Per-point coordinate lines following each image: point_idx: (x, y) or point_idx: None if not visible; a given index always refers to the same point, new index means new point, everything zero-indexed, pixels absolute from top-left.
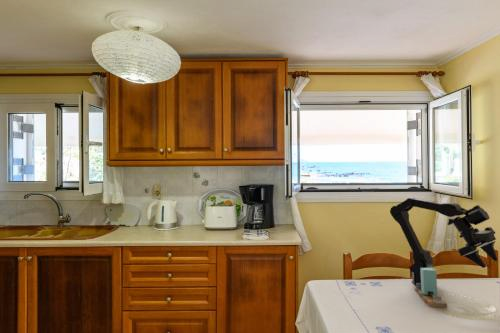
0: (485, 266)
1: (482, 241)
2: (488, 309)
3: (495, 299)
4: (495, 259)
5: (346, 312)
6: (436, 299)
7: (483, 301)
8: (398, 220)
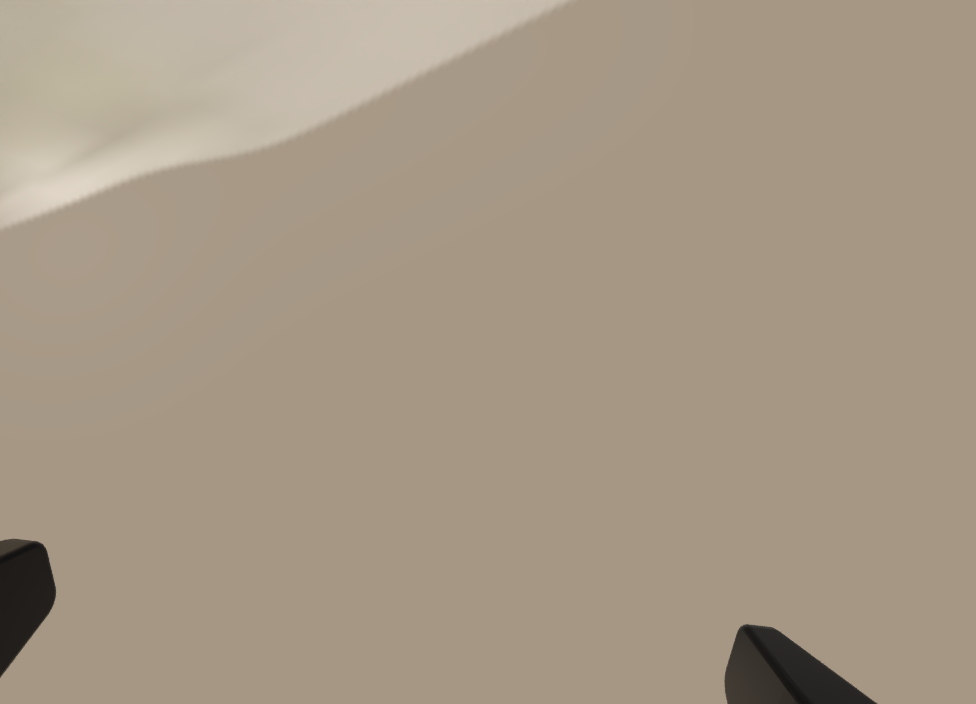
0: (43, 616)
1: None
2: (27, 195)
3: (472, 48)
4: (742, 691)
5: None
6: None
7: (211, 7)
8: None
